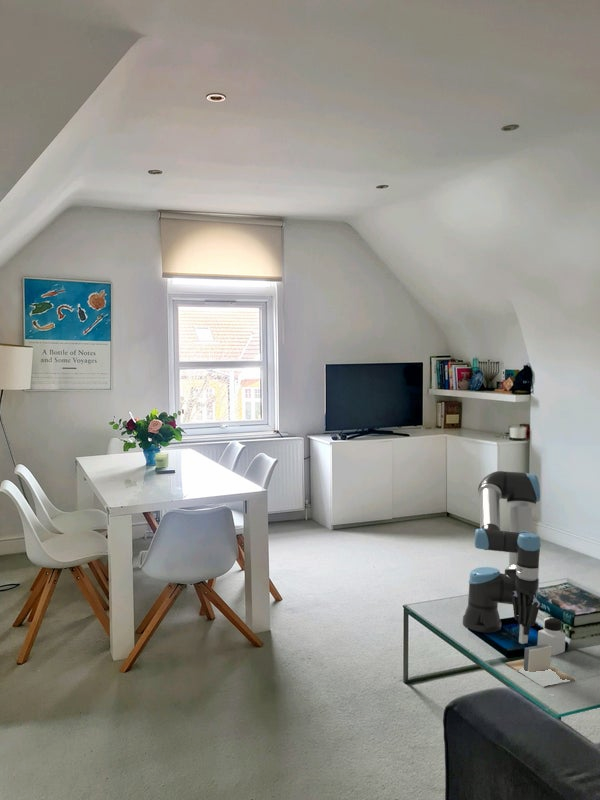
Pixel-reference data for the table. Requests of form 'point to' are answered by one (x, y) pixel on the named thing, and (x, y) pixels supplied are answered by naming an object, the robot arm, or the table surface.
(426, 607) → the table surface
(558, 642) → the medicine bottle
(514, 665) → the mat
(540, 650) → the tile
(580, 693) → the table surface
